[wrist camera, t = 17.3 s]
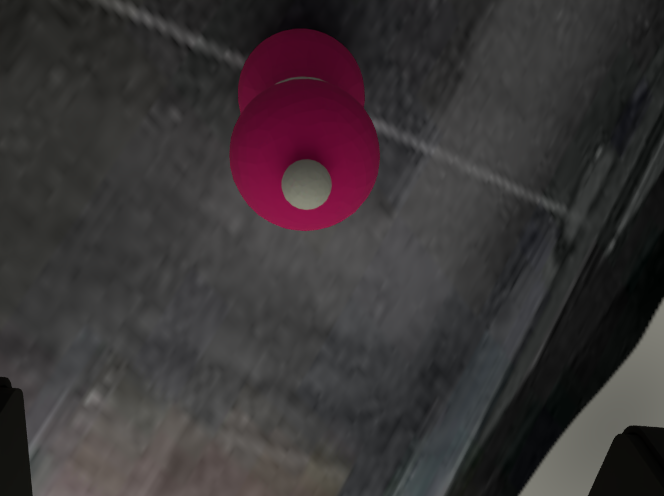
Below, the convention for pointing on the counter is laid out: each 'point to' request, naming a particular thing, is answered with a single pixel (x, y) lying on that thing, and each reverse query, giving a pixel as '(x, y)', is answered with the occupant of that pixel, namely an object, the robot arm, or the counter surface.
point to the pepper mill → (303, 132)
